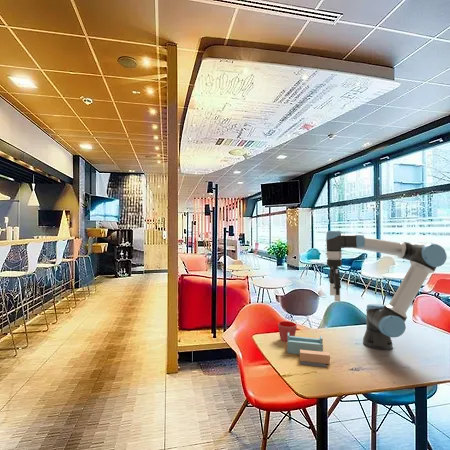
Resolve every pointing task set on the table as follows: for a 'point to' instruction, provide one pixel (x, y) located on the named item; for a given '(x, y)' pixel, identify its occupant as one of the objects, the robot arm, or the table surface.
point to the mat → (313, 364)
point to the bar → (315, 356)
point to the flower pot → (286, 330)
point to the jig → (303, 344)
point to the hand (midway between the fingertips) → (335, 298)
